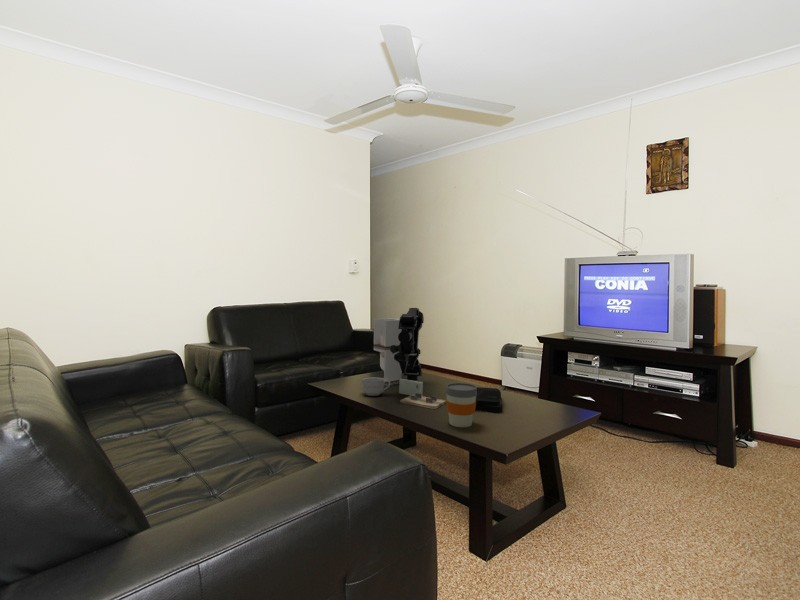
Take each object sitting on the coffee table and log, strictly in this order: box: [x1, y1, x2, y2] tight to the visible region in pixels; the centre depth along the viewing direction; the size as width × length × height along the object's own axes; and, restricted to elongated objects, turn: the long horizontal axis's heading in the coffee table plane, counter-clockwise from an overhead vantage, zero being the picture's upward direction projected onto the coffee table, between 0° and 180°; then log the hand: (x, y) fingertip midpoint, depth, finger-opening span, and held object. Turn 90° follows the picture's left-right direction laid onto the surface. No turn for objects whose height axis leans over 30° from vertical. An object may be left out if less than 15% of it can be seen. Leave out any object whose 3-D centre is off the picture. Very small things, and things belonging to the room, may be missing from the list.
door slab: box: [398, 378, 424, 396], centre depth 217 cm, size 3×12×7 cm, turn 59°
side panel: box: [399, 393, 446, 410], centre depth 204 cm, size 12×18×3 cm, turn 59°
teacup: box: [362, 376, 392, 397], centre depth 216 cm, size 14×11×8 cm
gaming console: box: [475, 386, 503, 414], centre depth 204 cm, size 27×20×7 cm
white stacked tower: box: [373, 317, 403, 387], centre depth 241 cm, size 11×11×35 cm
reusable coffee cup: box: [445, 382, 477, 428], centre depth 175 cm, size 13×12×15 cm
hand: (407, 371), depth 216 cm, fingers open, 9 cm apart
